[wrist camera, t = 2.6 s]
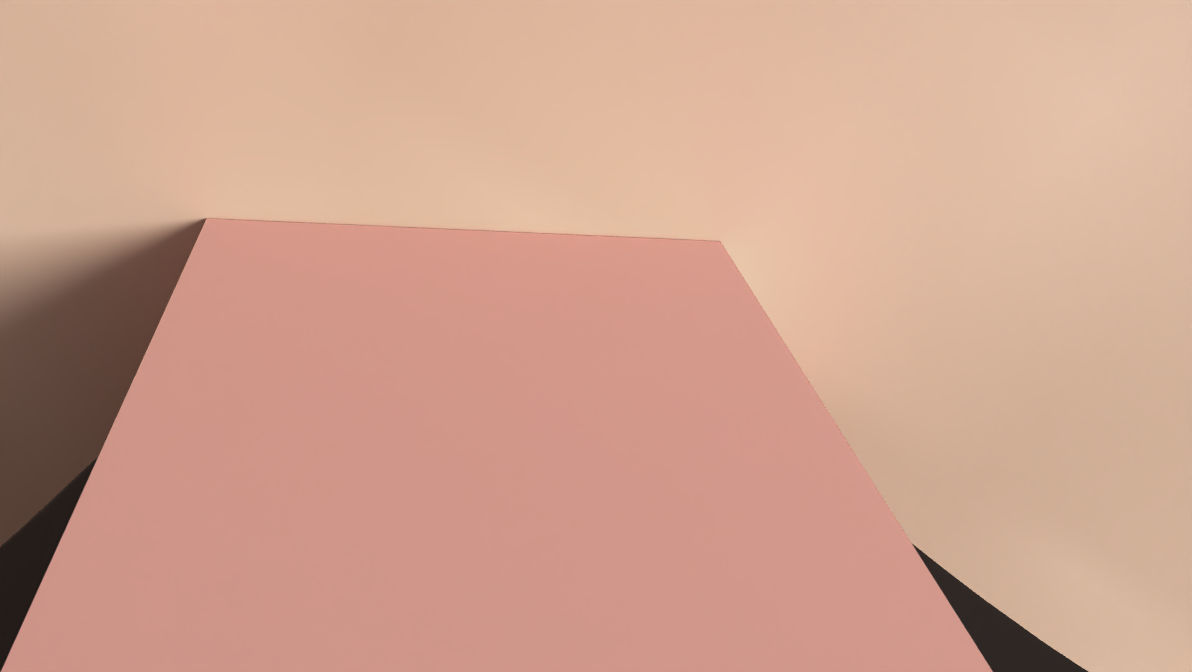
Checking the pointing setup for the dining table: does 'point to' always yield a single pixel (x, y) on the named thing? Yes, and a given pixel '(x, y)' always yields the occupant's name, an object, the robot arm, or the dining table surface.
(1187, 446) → the dining table surface
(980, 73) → the dining table surface
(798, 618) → the coral block
